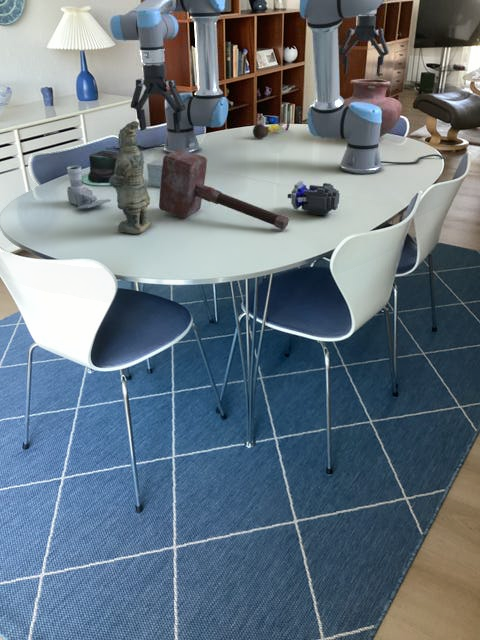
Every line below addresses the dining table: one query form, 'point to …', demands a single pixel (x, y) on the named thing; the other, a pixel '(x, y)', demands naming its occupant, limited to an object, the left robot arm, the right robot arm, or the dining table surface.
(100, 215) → the dining table surface
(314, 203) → the toy
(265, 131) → the figurine
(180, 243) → the dining table surface
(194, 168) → the sledgehammer
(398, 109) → the clay pot
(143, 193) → the statue
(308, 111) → the right robot arm
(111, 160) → the green top hat
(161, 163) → the metal block
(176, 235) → the dining table surface
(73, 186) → the grey piece
